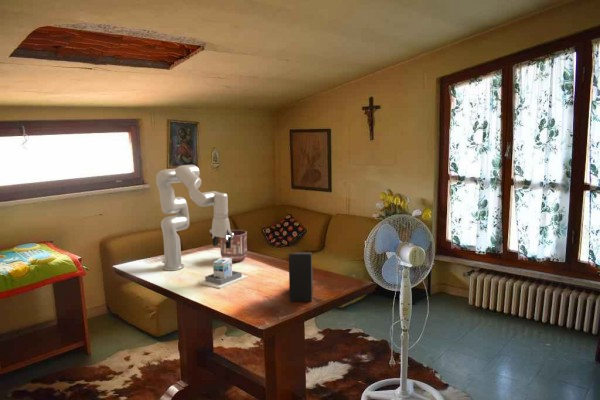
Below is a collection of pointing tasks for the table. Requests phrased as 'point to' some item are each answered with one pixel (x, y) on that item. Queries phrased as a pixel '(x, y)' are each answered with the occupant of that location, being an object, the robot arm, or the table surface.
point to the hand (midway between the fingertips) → (221, 246)
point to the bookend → (300, 276)
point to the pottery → (235, 246)
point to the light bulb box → (222, 268)
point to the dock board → (223, 280)
